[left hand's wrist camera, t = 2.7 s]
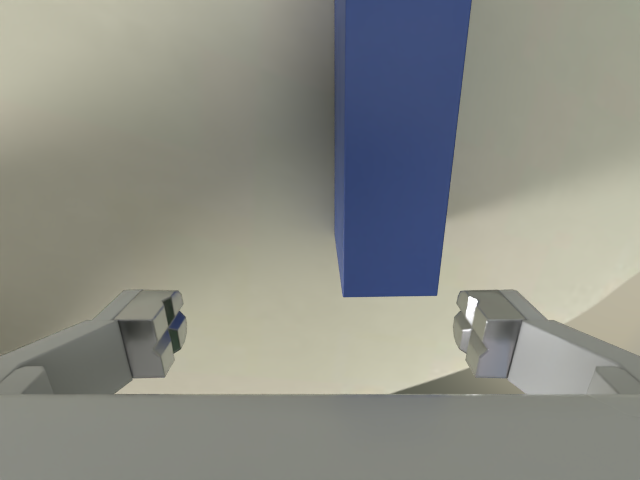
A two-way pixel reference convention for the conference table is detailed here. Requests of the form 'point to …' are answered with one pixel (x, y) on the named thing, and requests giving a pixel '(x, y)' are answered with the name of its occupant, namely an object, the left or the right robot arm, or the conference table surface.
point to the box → (395, 140)
